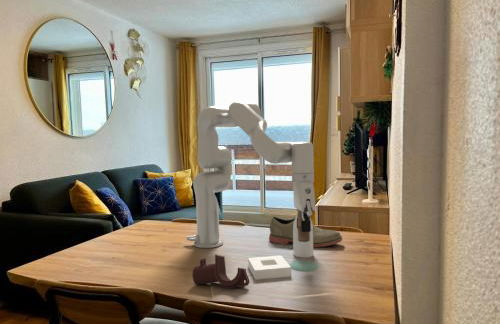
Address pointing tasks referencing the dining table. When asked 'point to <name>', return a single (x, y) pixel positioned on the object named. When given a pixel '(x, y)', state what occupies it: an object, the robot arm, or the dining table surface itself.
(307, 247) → the milk bottle
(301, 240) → the walnut dowel
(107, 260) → the dining table surface
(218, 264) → the bracket
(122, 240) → the dining table surface
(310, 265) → the felt pad
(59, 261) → the dining table surface
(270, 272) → the pocket block
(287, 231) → the oxford shoe
